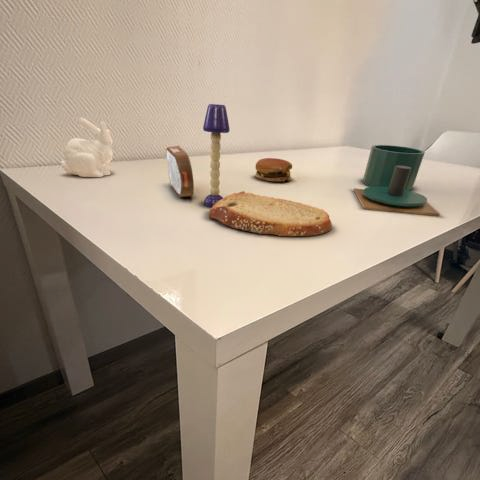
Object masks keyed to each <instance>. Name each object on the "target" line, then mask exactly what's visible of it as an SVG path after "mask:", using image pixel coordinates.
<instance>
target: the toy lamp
mask: <svg viewBox="0 0 480 480" xmlns="http://www.w3.org/2000/svg"><path fill="white" fill-rule="evenodd" d="M230 129H231V128H230V123H229V118H228V112H227V107H226V105H225V104H216V103H209V104H208V105H207V109H206V112H205V117H204V121H203V126H202V130H203V131H204V132H207V133H210V140H211V142H210V150H211V152H210V166H209V167H210V171H209V172H210V175H209V176H210V182H209V183H210V189H209V191H210V194H208V195H207V196H205V198H204V199H203V205H204V206H205V207H207V208H212V206H213V205H214V204H215V203H216V202H218V201H219V200H221V199H223V198H224V197H223V196H222V195H220V184H221V183H220V176H221V173H220V168H221V162H220V158H221V152H220V151H221V139H222V135H221V134H229V133H230Z"/></svg>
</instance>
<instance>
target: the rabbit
mask: <svg viewBox="0 0 480 480" xmlns="http://www.w3.org/2000/svg"><path fill="white" fill-rule="evenodd" d="M99 124H100V125H99V126H100V128H99V127H97V126H96V125H95V124H94V123H93V122H91V121H89V120H87V119H85V118H84V117H82V116H81V117H79V119H78V127H80V128H81V129H83V130H86V131H89V132H91V133H92V134H94V135H95V136H94V138H93V139H90V140H88V139H84V138H82V137H81V138H80V137H74V138H71V139H70V140H68V141H67V143H66V144H65V147H64V150H63V155H64V160H61V161H60V166H61V168H62V169H63V170H64V171H65V172H67V173H68V174H71V175H75V176H79V177H81V178H102V177H103V176H110V175H111V172H110V170H109V169H108V168H106V167H105V166H107V165H109V164H110V163H111V162H112V160H113V156H114V152H113V148H112V146H113V143H114V141H113V138H112V136H111V134H112V133H111V130H109V129H107V128H108V126H107V125H108V124H107V122H106V121H100V123H99Z"/></svg>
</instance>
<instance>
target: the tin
mask: <svg viewBox="0 0 480 480" xmlns="http://www.w3.org/2000/svg"><path fill="white" fill-rule="evenodd" d="M165 157H166V161H167V175H168V179H169V182H170V185H171V188H172V189H173V190H174V192H175V193H176V195H177V196H178V197H179V198H189V197H190V198H192V197H193V196H194V191H195V190H194V189H195V184H194V182H195V181H194V174H193V168H192V163H191V159H190V156H189V154H188V153H187V151H186V150H184V148H182V147H181V146H180V145H175V146H167V147H166V149H165Z"/></svg>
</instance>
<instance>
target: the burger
mask: <svg viewBox="0 0 480 480" xmlns="http://www.w3.org/2000/svg"><path fill="white" fill-rule="evenodd" d="M292 169H293V164H292V162H290V161H288V160H285V159H282V158H275V157H274V158H272V157H267V158H261V159H259V160H257V162H256V163H255V170H256V173H255V177H256V179H258V180H262V181H266V182H283V183H284V182H285V181H287V182H290V181H291V180H292V178H291V170H292Z"/></svg>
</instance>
